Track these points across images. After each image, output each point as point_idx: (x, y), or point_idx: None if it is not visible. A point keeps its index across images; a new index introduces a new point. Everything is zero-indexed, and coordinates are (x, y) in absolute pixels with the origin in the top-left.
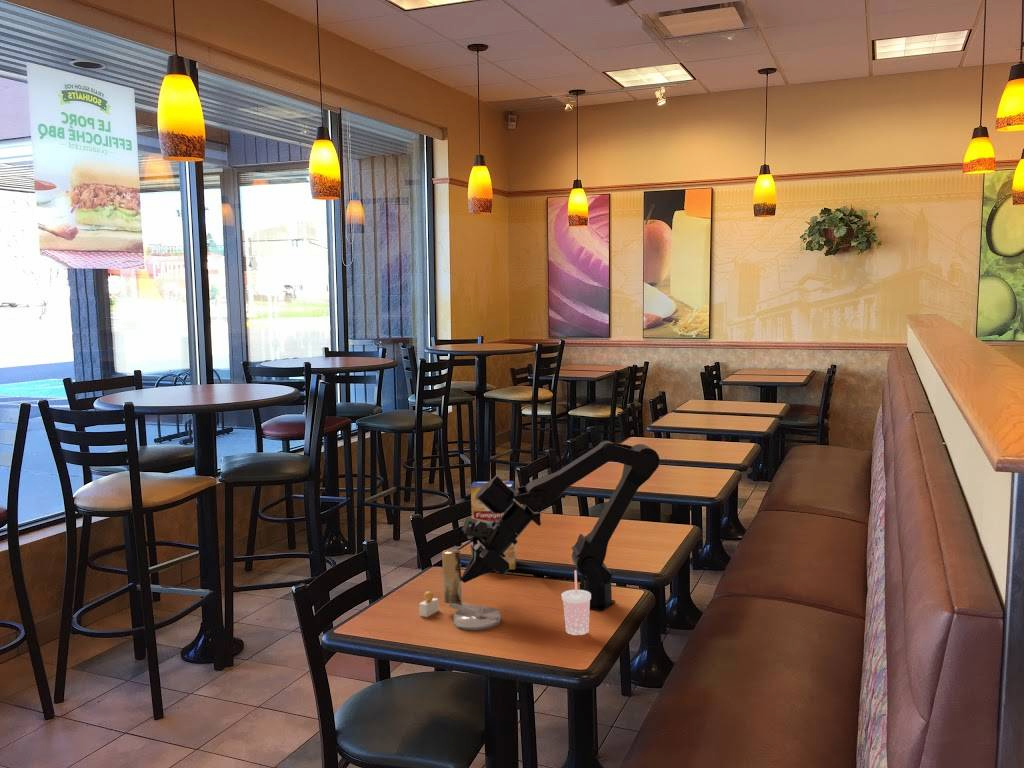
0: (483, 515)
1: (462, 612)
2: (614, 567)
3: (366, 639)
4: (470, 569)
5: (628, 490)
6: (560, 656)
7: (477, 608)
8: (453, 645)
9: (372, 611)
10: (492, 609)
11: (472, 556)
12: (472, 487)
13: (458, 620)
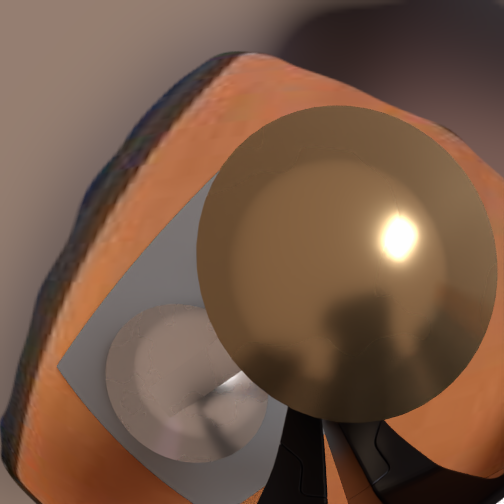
0: None
1: (208, 340)
2: None
3: (184, 100)
4: (280, 443)
5: None
6: (45, 478)
7: (177, 398)
8: (88, 297)
9: (360, 98)
10: (220, 446)
11: (399, 489)
12: None
13: (133, 318)
